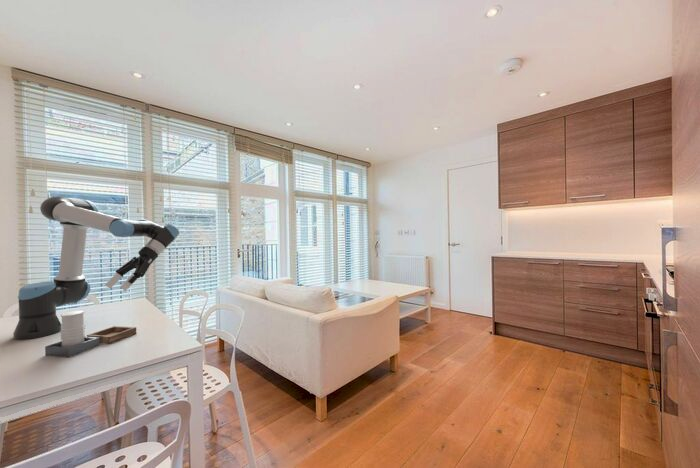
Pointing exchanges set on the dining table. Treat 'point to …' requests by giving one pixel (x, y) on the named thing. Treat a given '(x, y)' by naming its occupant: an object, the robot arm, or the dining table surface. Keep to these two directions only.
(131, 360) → the dining table surface
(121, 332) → the tray
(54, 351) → the shallow grey tray
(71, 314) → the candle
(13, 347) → the dining table surface
